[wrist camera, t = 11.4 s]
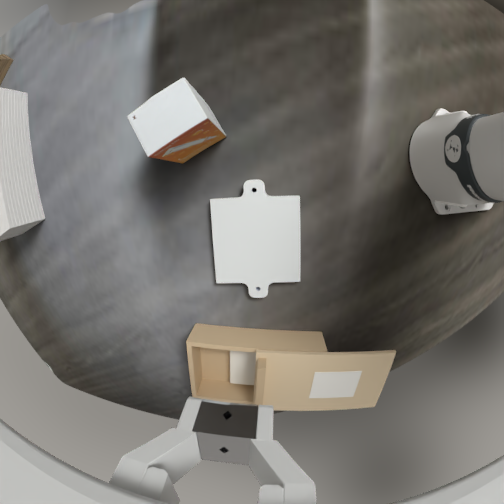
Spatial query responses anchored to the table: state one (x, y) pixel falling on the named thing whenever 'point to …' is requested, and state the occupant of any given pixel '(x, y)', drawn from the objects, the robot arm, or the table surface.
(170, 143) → the small box
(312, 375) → the lid
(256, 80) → the table surface
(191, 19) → the table surface
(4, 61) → the banker's lamp
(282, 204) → the mounting plate
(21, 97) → the stack of papers
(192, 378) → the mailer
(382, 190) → the table surface
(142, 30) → the table surface
